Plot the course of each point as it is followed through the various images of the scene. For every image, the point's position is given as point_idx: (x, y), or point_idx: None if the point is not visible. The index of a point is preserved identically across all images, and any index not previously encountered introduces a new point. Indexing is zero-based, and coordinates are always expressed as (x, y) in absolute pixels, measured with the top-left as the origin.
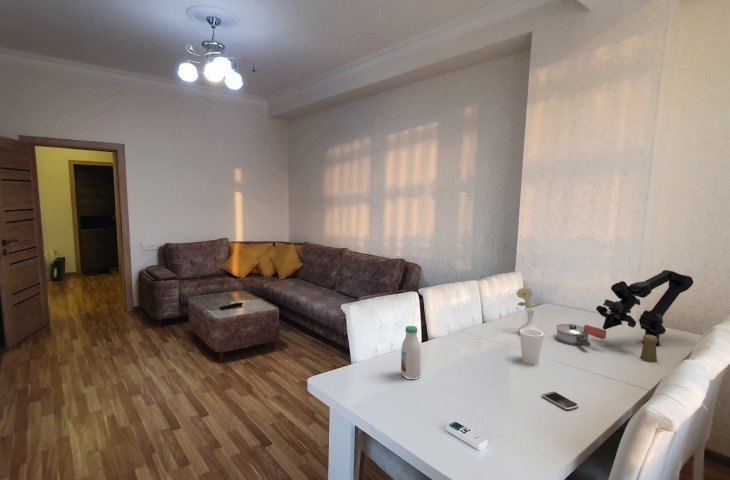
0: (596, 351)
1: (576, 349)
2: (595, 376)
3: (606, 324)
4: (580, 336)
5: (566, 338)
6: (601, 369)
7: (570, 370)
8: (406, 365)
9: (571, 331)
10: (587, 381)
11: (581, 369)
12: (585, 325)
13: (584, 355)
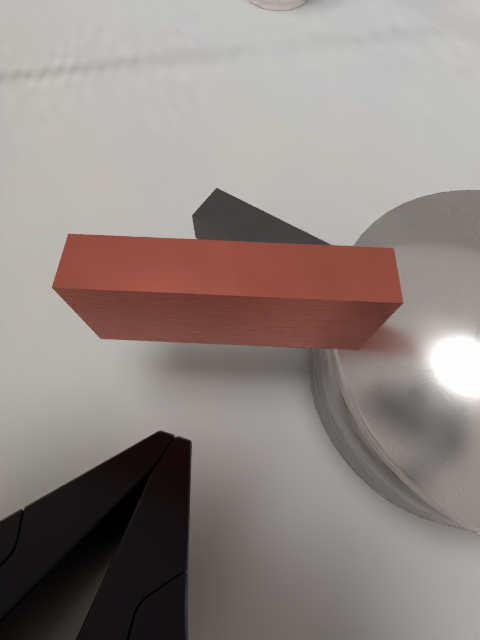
0: None
1: None
2: (30, 52)
3: (105, 479)
4: None
5: None
6: (37, 118)
7: (129, 30)
8: None
9: (434, 235)
10: (37, 9)
11: (103, 62)
12: (376, 250)
13: (188, 198)
